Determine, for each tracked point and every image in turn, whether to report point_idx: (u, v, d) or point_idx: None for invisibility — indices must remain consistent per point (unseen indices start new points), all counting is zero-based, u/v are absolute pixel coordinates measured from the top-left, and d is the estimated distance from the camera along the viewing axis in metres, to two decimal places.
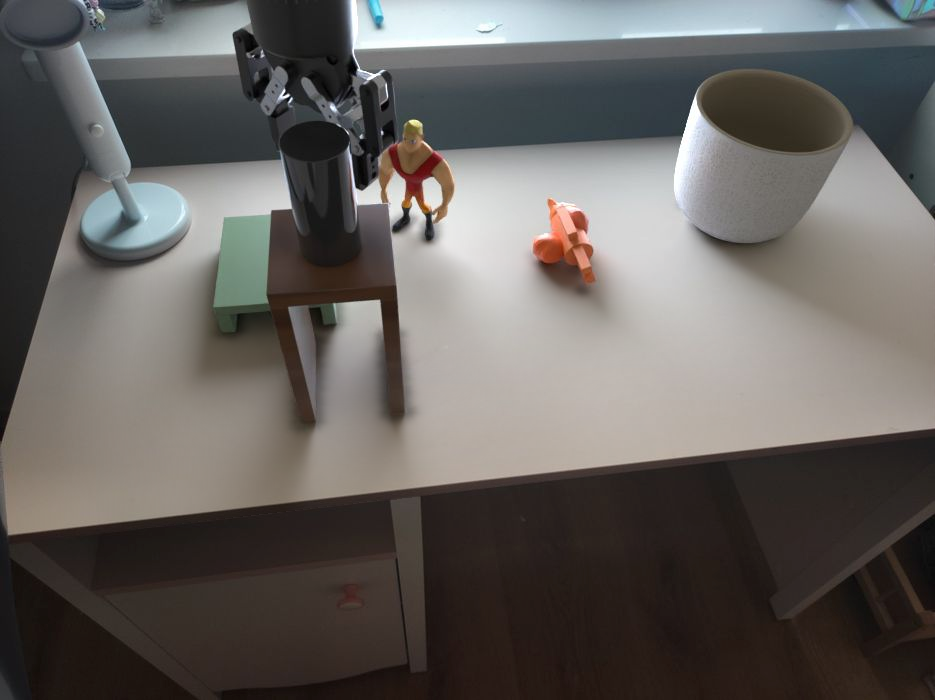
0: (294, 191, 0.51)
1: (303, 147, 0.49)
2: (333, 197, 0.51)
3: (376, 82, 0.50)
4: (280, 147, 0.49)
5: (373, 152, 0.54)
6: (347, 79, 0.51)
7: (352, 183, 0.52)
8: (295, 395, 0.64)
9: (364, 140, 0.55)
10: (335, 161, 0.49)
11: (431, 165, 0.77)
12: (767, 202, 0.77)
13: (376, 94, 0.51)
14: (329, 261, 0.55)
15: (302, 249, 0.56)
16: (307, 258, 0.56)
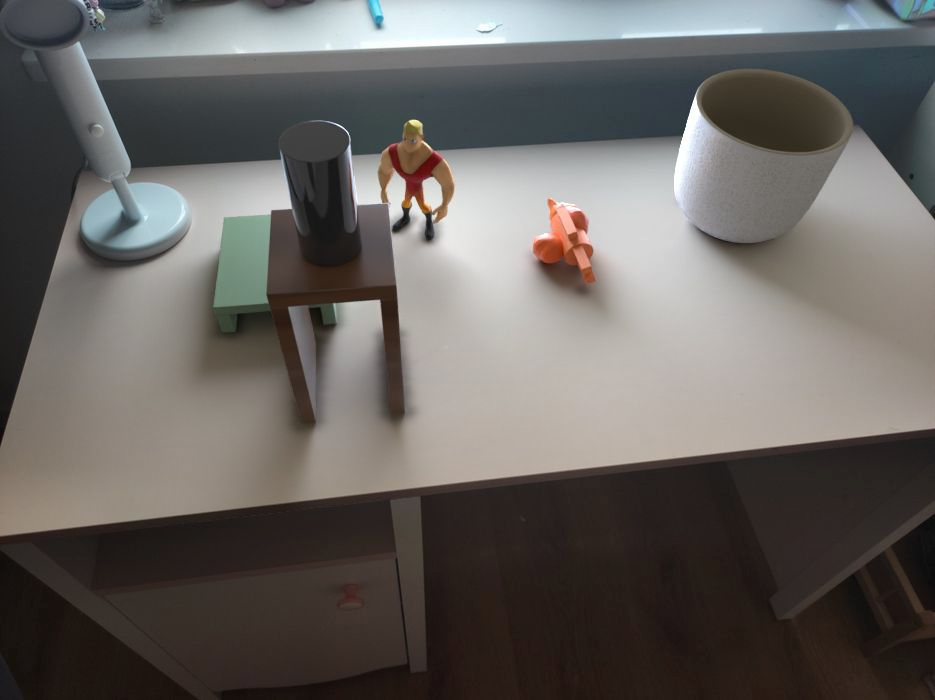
0: (294, 191, 0.51)
1: (303, 147, 0.49)
2: (333, 197, 0.51)
3: None
4: (280, 147, 0.49)
5: None
6: None
7: (352, 183, 0.52)
8: (295, 395, 0.64)
9: None
10: (335, 161, 0.49)
11: (431, 165, 0.77)
12: (768, 202, 0.77)
13: None
14: (329, 261, 0.55)
15: (302, 249, 0.56)
16: (307, 258, 0.56)
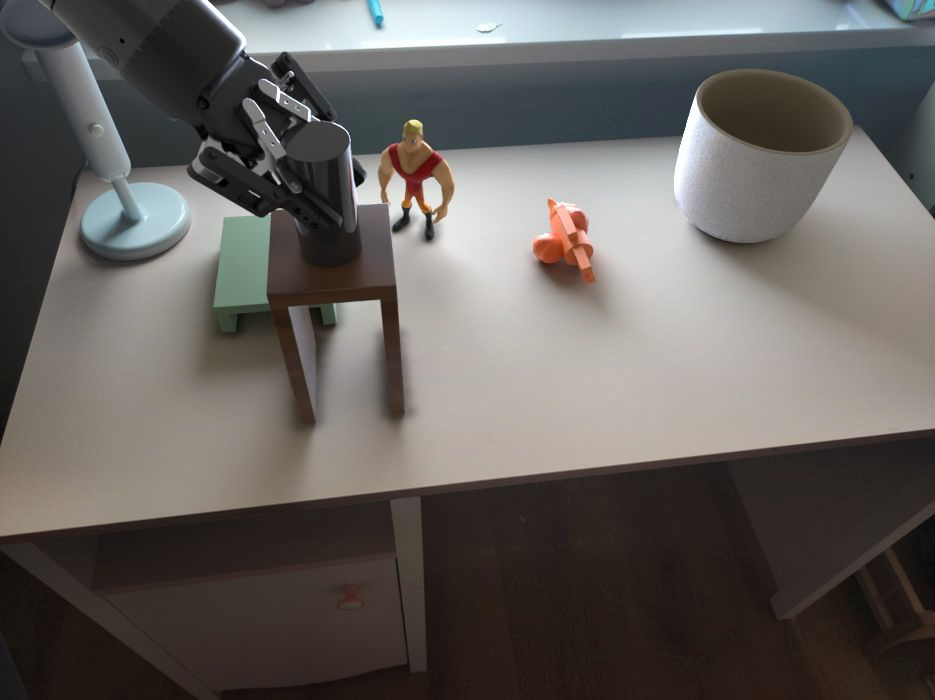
0: None
1: (303, 147, 0.49)
2: (333, 197, 0.51)
3: None
4: None
5: (332, 112, 0.54)
6: None
7: (352, 183, 0.52)
8: (295, 395, 0.64)
9: None
10: (335, 161, 0.49)
11: (431, 165, 0.77)
12: (768, 202, 0.77)
13: None
14: (329, 261, 0.55)
15: (302, 249, 0.56)
16: (307, 258, 0.56)
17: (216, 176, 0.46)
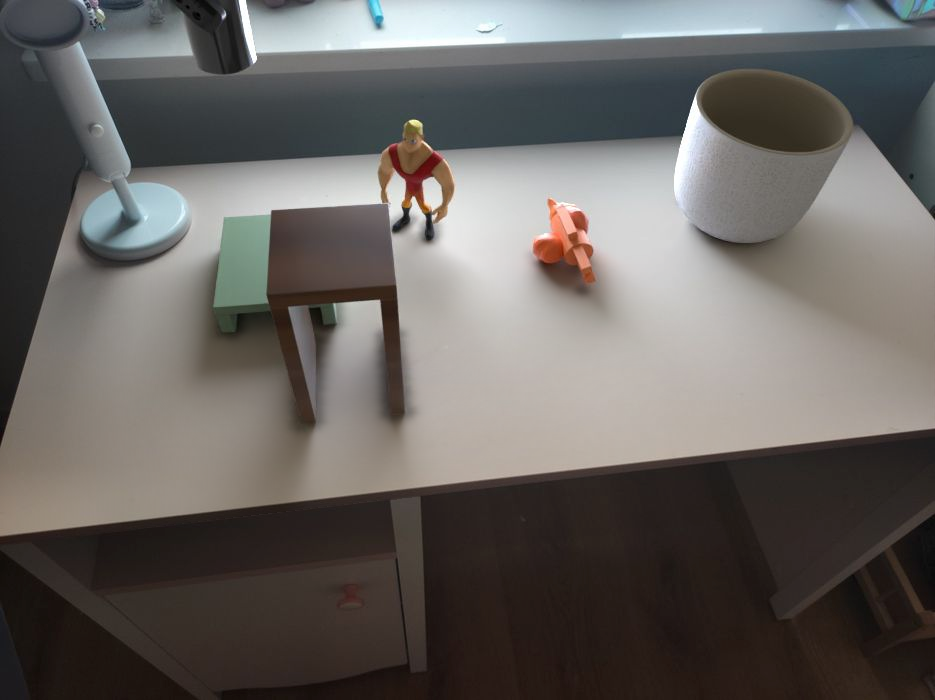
0: None
1: None
2: None
3: None
4: None
5: None
6: None
7: None
8: (295, 395, 0.64)
9: None
10: None
11: (431, 165, 0.77)
12: (768, 202, 0.77)
13: None
14: (221, 68, 0.57)
15: (195, 57, 0.57)
16: (200, 66, 0.57)
17: None
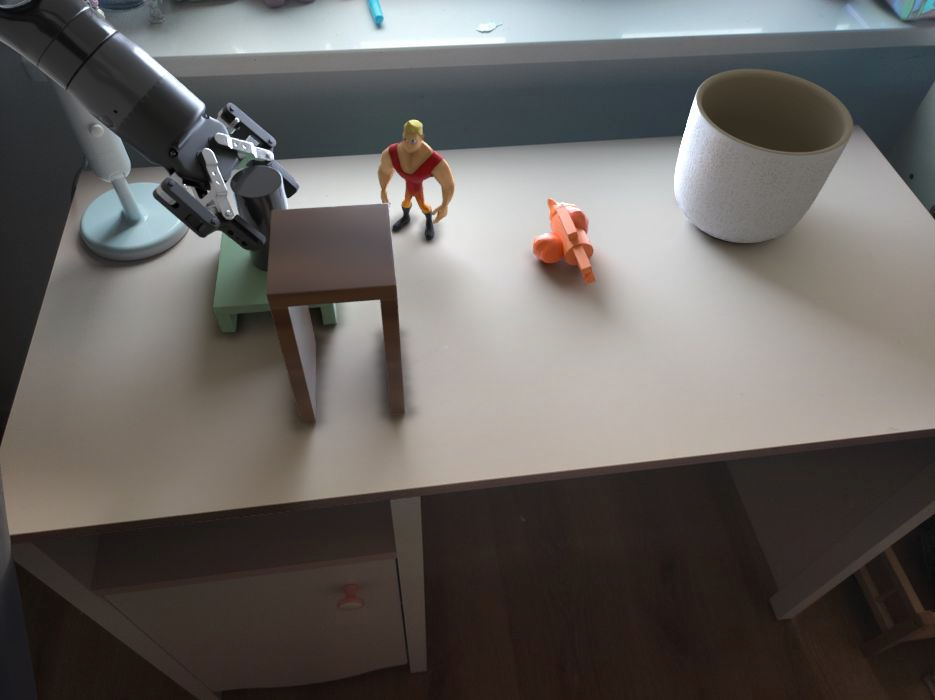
0: (242, 217, 0.70)
1: (248, 186, 0.68)
2: None
3: None
4: (231, 186, 0.68)
5: (272, 140, 0.73)
6: None
7: None
8: (295, 395, 0.64)
9: None
10: (270, 196, 0.68)
11: (431, 165, 0.77)
12: (768, 202, 0.77)
13: None
14: None
15: (251, 259, 0.75)
16: (255, 265, 0.75)
17: (170, 199, 0.63)
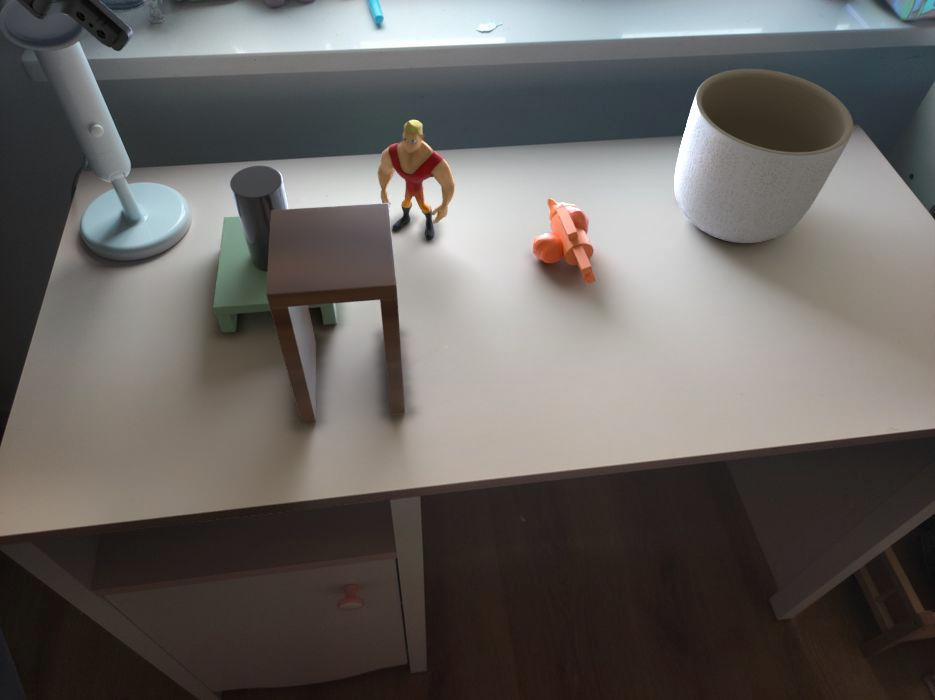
0: (242, 217, 0.70)
1: (248, 186, 0.68)
2: None
3: None
4: (231, 186, 0.68)
5: None
6: None
7: None
8: (295, 395, 0.64)
9: None
10: (270, 196, 0.68)
11: (431, 165, 0.77)
12: (768, 202, 0.77)
13: None
14: None
15: (251, 259, 0.75)
16: (255, 265, 0.75)
17: None
